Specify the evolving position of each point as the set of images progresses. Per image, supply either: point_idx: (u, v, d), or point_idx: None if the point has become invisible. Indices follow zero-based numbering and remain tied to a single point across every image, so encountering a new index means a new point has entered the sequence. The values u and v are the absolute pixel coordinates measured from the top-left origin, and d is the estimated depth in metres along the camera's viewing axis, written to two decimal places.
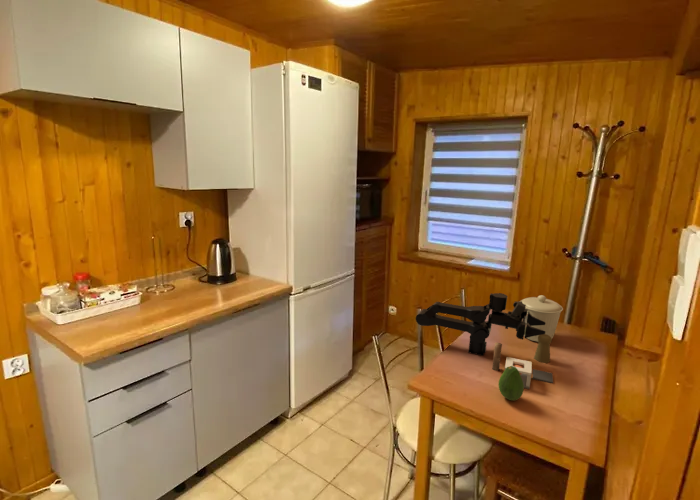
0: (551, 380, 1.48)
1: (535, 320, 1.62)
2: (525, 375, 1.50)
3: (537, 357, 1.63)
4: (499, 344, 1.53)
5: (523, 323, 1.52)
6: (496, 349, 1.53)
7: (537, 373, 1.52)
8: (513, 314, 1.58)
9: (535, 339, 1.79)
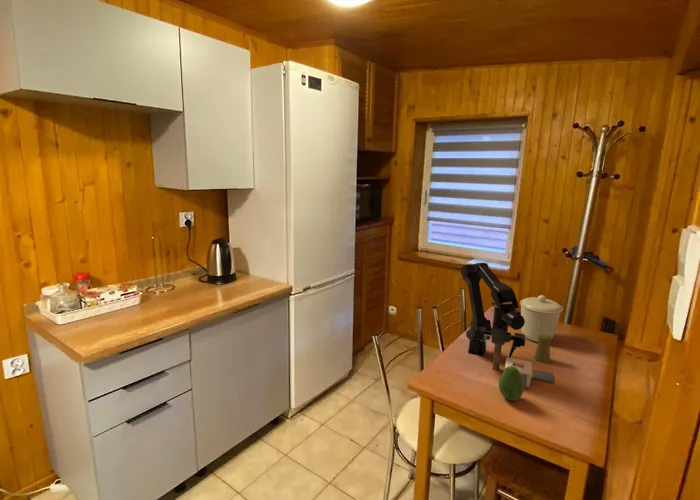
0: (551, 380, 1.48)
1: (511, 349, 1.52)
2: (525, 375, 1.50)
3: (537, 357, 1.63)
4: (499, 344, 1.53)
5: (478, 336, 1.54)
6: (496, 349, 1.53)
7: (537, 373, 1.52)
8: (493, 329, 1.50)
9: (535, 339, 1.79)
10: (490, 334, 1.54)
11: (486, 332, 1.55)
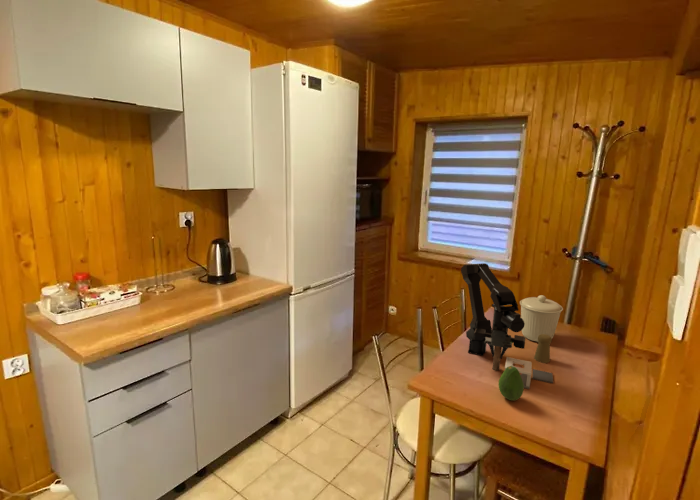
0: (551, 380, 1.48)
1: (502, 350, 1.53)
2: (525, 375, 1.50)
3: (537, 357, 1.63)
4: None
5: (478, 338, 1.54)
6: (496, 349, 1.53)
7: (537, 373, 1.52)
8: (492, 331, 1.50)
9: (535, 339, 1.79)
10: (490, 336, 1.54)
11: (486, 334, 1.55)
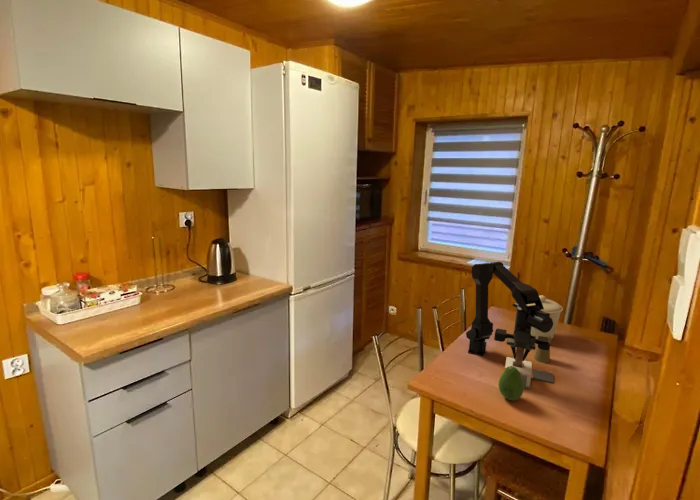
0: (551, 380, 1.48)
1: (525, 352, 1.45)
2: (525, 375, 1.50)
3: (537, 357, 1.63)
4: None
5: (499, 339, 1.45)
6: (518, 351, 1.45)
7: (537, 373, 1.52)
8: (515, 332, 1.41)
9: None
10: (512, 337, 1.46)
11: (507, 335, 1.46)
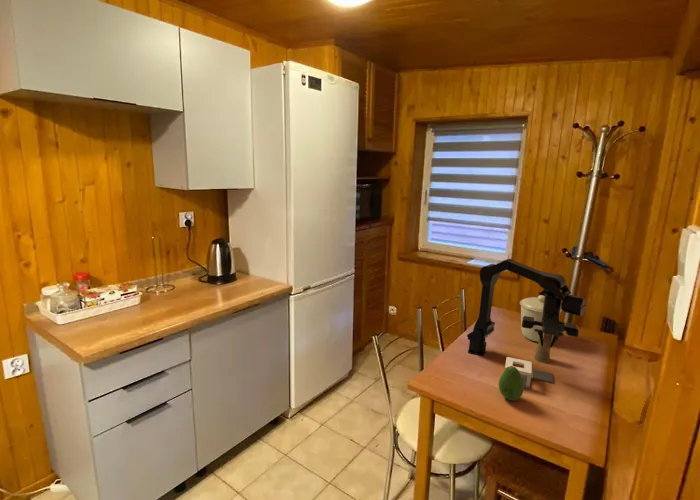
0: (551, 380, 1.48)
1: (552, 339, 1.46)
2: (525, 375, 1.50)
3: (537, 357, 1.63)
4: None
5: (527, 326, 1.47)
6: (546, 338, 1.46)
7: (537, 373, 1.52)
8: (543, 319, 1.43)
9: (535, 339, 1.79)
10: (539, 324, 1.47)
11: (535, 322, 1.48)
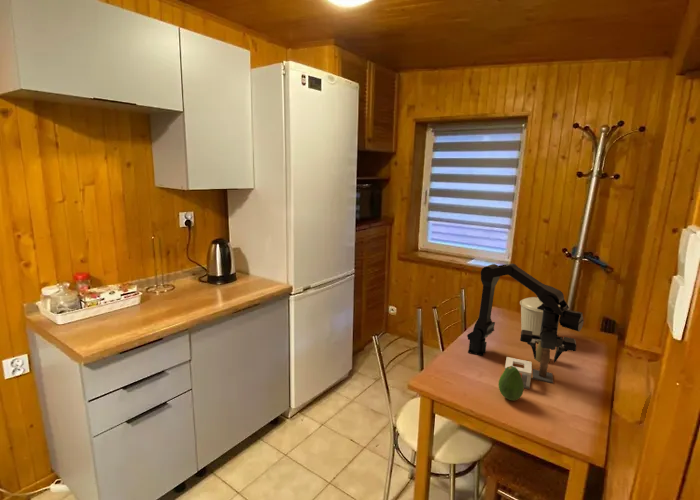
0: (551, 380, 1.48)
1: (556, 354, 1.47)
2: (525, 375, 1.50)
3: (537, 357, 1.63)
4: (547, 350, 1.47)
5: (525, 340, 1.48)
6: (544, 355, 1.48)
7: (537, 373, 1.52)
8: (542, 333, 1.44)
9: None
10: (538, 338, 1.48)
11: (533, 336, 1.49)
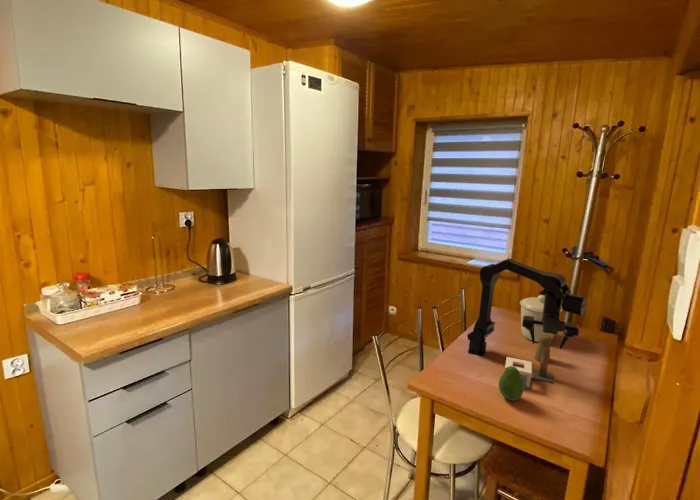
0: (551, 380, 1.48)
1: (562, 340, 1.45)
2: (525, 375, 1.50)
3: (537, 357, 1.63)
4: (547, 349, 1.48)
5: (527, 325, 1.47)
6: (544, 355, 1.48)
7: (537, 373, 1.52)
8: (544, 318, 1.43)
9: (535, 339, 1.79)
10: None
11: (535, 322, 1.48)
